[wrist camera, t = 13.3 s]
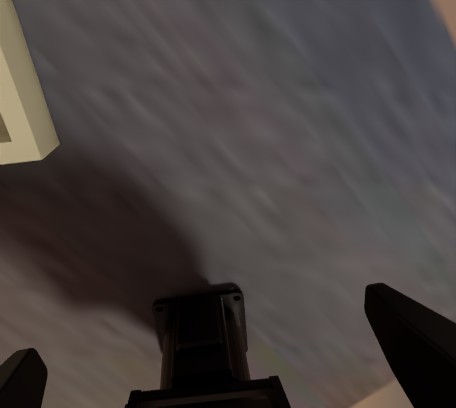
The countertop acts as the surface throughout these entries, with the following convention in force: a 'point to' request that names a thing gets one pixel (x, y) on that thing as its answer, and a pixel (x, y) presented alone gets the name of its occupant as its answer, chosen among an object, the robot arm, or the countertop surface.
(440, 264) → the countertop surface
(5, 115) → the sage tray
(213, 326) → the robot arm
